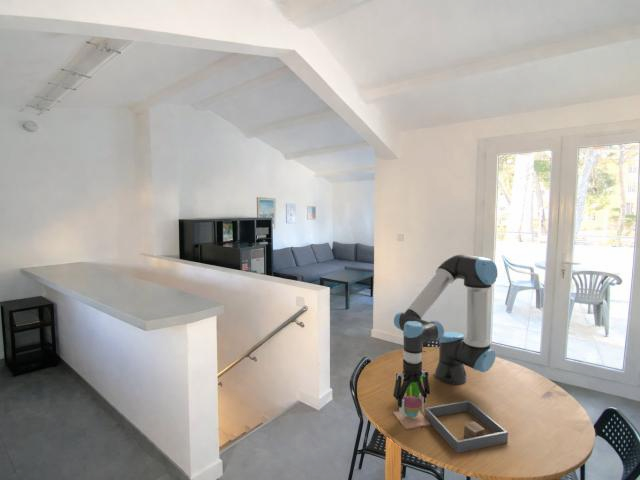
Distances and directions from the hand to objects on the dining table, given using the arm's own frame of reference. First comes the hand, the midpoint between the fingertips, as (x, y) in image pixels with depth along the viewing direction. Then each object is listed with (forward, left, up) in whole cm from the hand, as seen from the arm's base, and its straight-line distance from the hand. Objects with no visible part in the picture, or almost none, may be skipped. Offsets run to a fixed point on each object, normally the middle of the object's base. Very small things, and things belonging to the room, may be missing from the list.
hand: (411, 412), depth 142 cm
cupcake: (0, 0, -1) cm, 1 cm away
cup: (-8, -13, -3) cm, 16 cm away
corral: (-17, +11, -3) cm, 20 cm away
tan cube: (-17, +17, -3) cm, 24 cm away
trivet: (0, 0, -3) cm, 3 cm away
